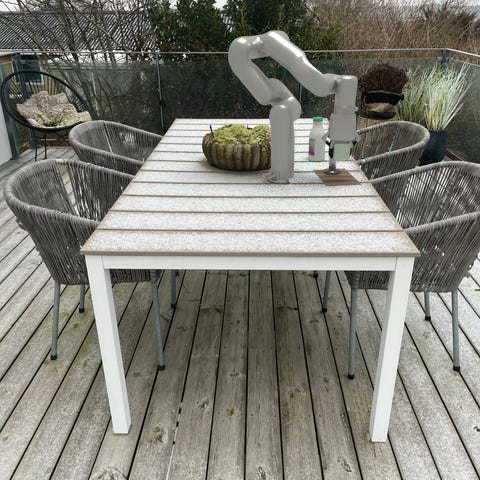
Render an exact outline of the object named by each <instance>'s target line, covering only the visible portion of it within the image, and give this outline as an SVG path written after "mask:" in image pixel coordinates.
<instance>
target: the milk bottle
mask: <svg viewBox="0 0 480 480" xmlns="http://www.w3.org/2000/svg"><path fill="white" fill-rule="evenodd" d="M323 122H324V117H322V116H313V117H312V124H313V125H312V128H310V131H309V135H308V160H309V161H311V162H323V161H324V160H325V159H326V158H325V156H326V155H325V154H326V143H325V142H324V141H323V140H322V139H321V137H322V136H323V135H324V134H325V133H326V131H325V129H324V127H323V126H324V125H323Z"/></svg>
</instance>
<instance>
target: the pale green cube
mask: <svg viewBox="0 0 480 480" xmlns="http://www.w3.org/2000/svg"><path fill="white" fill-rule="evenodd" d="M350 147H351V144H350V143H348V142H347V141H335V143H334V146H333V148H334V151H333V158H332V159H333V160H336V161H349V160H350V158H349V156H350ZM350 157H351V156H350Z"/></svg>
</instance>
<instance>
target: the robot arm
mask: <svg viewBox="0 0 480 480" xmlns="http://www.w3.org/2000/svg"><path fill="white" fill-rule="evenodd" d="M227 57H228V64H229V67H230V68H231V70H232V71H233V74H235V76H236V77H237V78H238V79H239V80H240V82H241V83H242V84H243V86H245V88H246V89H247V91H249V92H250V93H251V95H252V97H253V98H254V99H255V100H256V101H257V102H258V103H259V104H260V105H262V106H267V105H271V106H272V107H271V108H270V111H269V115H268V117H269V125H270V162H271V163H270V169H268V172H267V173H262V175H261V177H262V179H267V180H268V182H270V183H272V184H273V183H275V184H291V182H290V180H291V179H294V177H295V147H296V145H295V143H296V141H295V137H296V136H295V135H296V134H295V127H294V122H296V121H297V120H299V118H300V117H301V115H302V106H301V104H300V101H298V100H297V98H296V97H295V96H294V95H293V93H292V92H291V91H290V90H289V88H288V87H287V86H286V85H285V84H284V83H283V82H282V81H281V80H279V79H277V78H275V77H274V78H272V77H271V78H268V77H267V75H265V74H264V72H263V71H262V70H261V69H260V68H259V66H257V65H256V64H255V63H254V62H253V61H252V60H254V59H260V58H264V57H265V58H266V57H270V58H272V59H273V60H275V62H276V63H279V65H280V66H282V67H283V68H284V69H286V70H287V71H288V72H289V73H290V74H291V75H292V77H294V79H295V80H296V81H297V82H298V83H299V84H301V86H303V87H304V88H305V89H307V90H308V91H309V92H310V93H312V94H313V95H314V96H317V97H320V98H324V97H327V96H329V95H334V94H335V95H334V105H333V112H332V113H331V114H330V118H329V121H328V125H327V126H328V127H327V131H326V132H325V134H324V135H323V136H322V137H321V139H322V140H323V141H324V142H325V145H327V147H328V152H327V153H328V158H329V157H330V158H331V159H332V158H333V151H334V148H333V146H334V143H335V141H347V142H348V143H350V144H351V147H350V156H349V159H350V158H351V156H352V149H353V148H354V147H355V145H357V143H359V142H360V141H361V140H362V137H361V136H360V135H359V133H358V132H357V115H356V112H358V111H359V106H358V107H357V106H356V101H357V99H356V98H357V92H358V91H357V90H358V82H359V81H358V77H357V76H355V75H352V74H350V75H349V74H348V75H347V74H345V75H343V74H342V75H339V74H335V73H329V72H328V73H323V72H321V71H320V70H318V69H317V68H315V67H314V66H313V65H312V64H311V62H309V60H308V58H307V54H306V53H305V52H304V51H303V50H302V49H301V48H300V47H298V46H297V45H295V44H294V43H293V42H292V41H290V38H289V35H288V34H287V33H286V32H284V31H282V30H270V31H268V32H266V33H262V34H258V35H252V36H250V35H247V36H239V37H237V38H235V39H234V40H233V41H231V43H230V45H229V48H228V53H227ZM328 139H329V140H328Z"/></svg>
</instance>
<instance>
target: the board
mask: <svg viewBox="0 0 480 480" xmlns="http://www.w3.org/2000/svg"><path fill="white" fill-rule="evenodd" d="M312 171H313V172H314V173H315V175H316V176H317V177H318V178H319V179H320V181H321V182H322V183H323V184H324V186H325V187H338V186H339V187H340V186H358V185H359V186H360V185H362V183H361V182H360V181H359V180H358V179H356V178H355V176H353V175H352V173H350V172H349V171H348V170H347V169H346V168H343V167H342V168H337V160H333V159H331V158H330V157H329V156H328V168H327V167H326V168H324V169H312Z"/></svg>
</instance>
